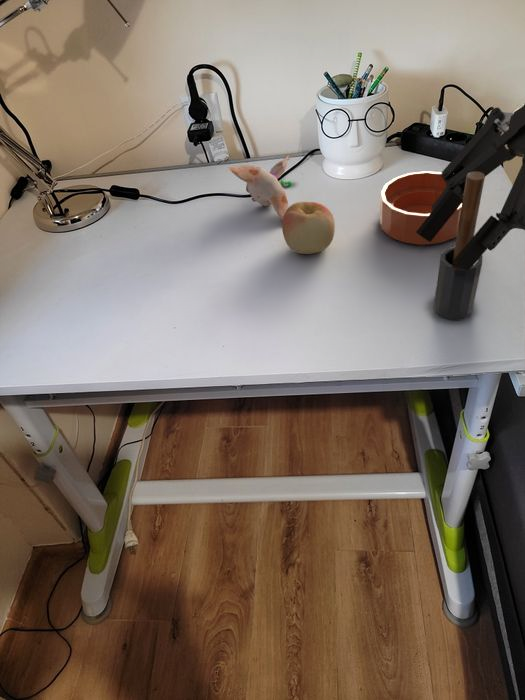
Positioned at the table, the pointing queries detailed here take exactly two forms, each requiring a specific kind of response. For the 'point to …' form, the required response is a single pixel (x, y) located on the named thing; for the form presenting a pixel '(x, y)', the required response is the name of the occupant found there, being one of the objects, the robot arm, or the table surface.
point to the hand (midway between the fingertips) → (441, 250)
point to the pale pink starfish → (265, 185)
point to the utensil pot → (455, 288)
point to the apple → (308, 227)
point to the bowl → (414, 207)
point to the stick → (469, 211)
